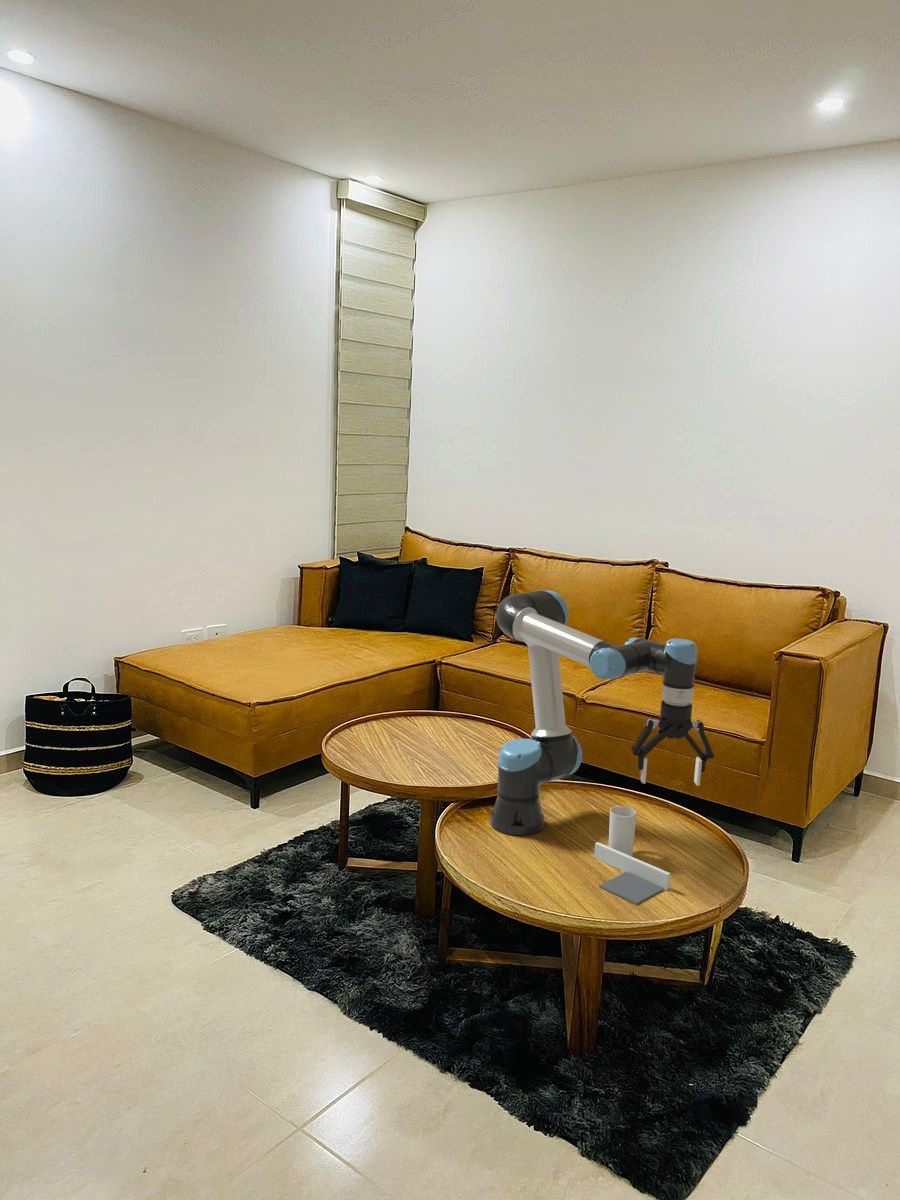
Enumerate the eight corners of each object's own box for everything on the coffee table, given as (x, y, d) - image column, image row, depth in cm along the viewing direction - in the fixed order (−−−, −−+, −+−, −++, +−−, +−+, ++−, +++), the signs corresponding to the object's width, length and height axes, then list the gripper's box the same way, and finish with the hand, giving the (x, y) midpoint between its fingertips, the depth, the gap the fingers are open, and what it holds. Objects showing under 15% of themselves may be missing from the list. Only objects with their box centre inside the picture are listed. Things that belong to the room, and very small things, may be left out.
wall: (594, 857, 232) (595, 843, 231) (597, 856, 232) (597, 842, 232) (666, 890, 216) (667, 874, 215) (669, 888, 216) (670, 873, 216)
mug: (624, 862, 229) (627, 818, 227) (602, 854, 234) (604, 811, 232) (644, 850, 237) (647, 807, 235) (622, 842, 241) (625, 800, 239)
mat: (599, 887, 216) (599, 885, 216) (626, 873, 224) (626, 871, 224) (636, 904, 208) (636, 903, 208) (663, 889, 216) (663, 888, 216)
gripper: (629, 704, 218) (622, 786, 222) (731, 708, 217) (723, 790, 221) (623, 695, 225) (617, 774, 229) (722, 699, 225) (715, 778, 229)
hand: (669, 782), depth 225 cm, fingers open, 13 cm apart
